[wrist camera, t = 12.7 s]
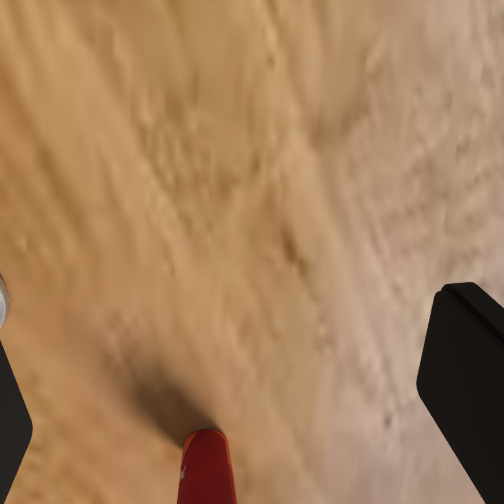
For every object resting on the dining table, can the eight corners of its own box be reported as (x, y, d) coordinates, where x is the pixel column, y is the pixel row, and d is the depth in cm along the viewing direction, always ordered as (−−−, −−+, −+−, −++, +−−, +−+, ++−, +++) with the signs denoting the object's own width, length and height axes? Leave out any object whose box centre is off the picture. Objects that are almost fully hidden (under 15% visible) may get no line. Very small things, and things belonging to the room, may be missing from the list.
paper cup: (162, 443, 51) (150, 573, 38) (212, 413, 49) (217, 539, 37) (200, 473, 54) (200, 602, 42) (248, 447, 53) (264, 571, 40)
